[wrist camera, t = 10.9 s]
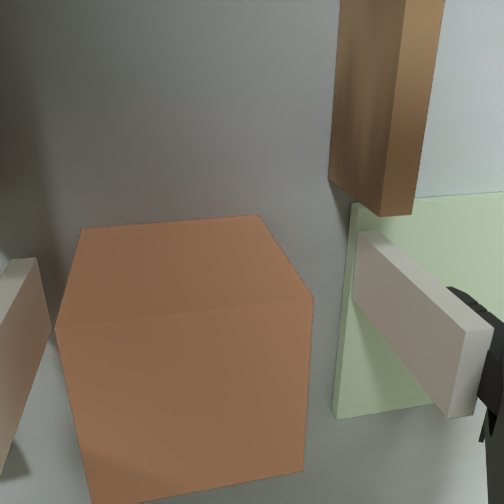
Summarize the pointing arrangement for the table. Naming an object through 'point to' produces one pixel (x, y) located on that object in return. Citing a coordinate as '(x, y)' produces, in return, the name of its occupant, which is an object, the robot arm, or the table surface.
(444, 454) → the table surface
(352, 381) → the felt pad
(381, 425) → the table surface
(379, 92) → the walnut stall
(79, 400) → the terracotta block
